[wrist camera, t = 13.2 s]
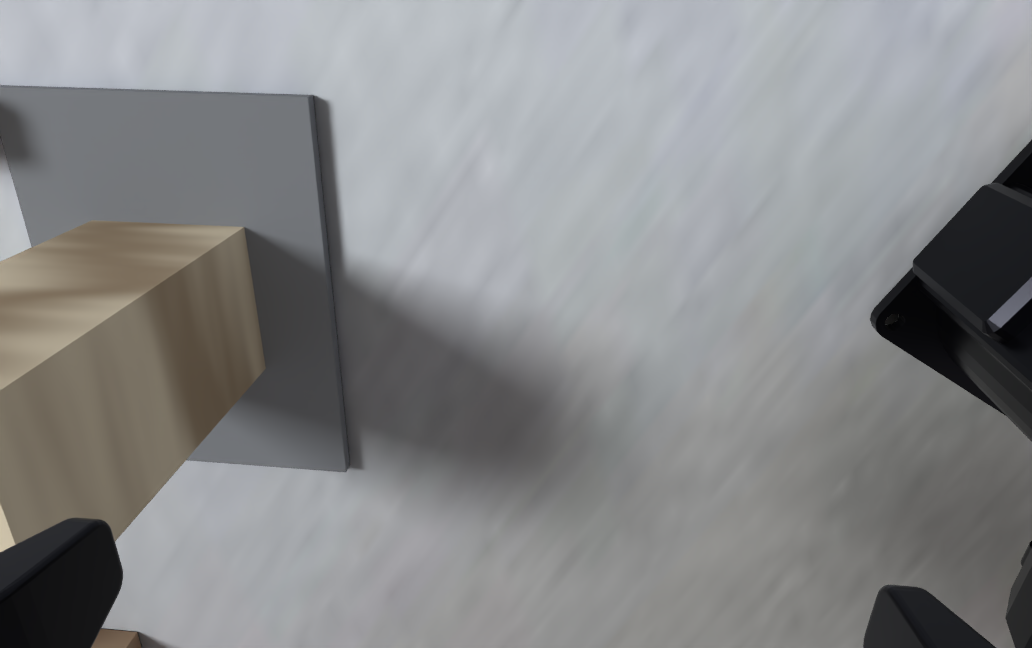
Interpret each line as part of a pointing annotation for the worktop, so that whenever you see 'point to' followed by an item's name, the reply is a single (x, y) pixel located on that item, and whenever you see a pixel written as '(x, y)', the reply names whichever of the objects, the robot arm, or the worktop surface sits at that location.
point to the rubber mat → (205, 201)
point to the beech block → (117, 365)
